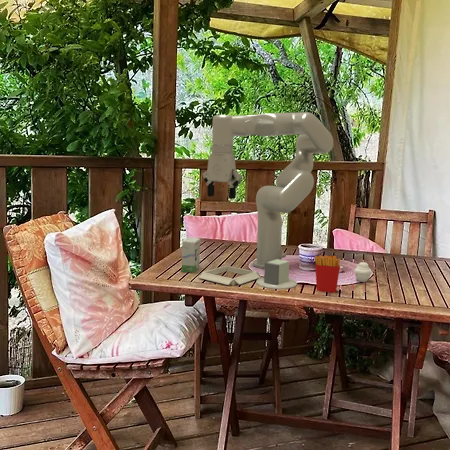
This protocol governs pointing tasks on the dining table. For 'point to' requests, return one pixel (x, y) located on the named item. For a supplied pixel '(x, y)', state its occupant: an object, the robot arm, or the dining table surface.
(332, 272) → the french fries
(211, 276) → the beige square frame
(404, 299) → the dining table surface
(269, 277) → the block
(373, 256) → the dining table surface
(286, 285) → the cream round plate
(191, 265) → the ink box
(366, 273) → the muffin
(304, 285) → the dining table surface
